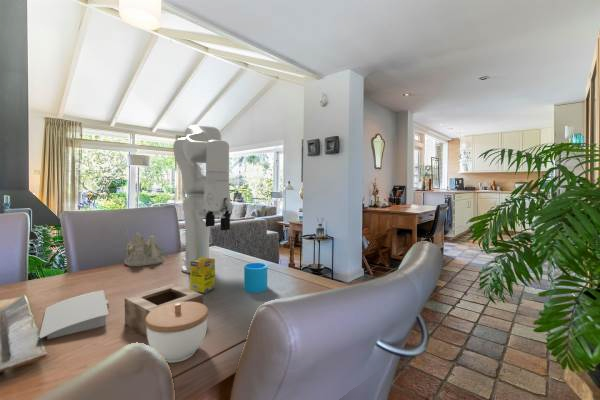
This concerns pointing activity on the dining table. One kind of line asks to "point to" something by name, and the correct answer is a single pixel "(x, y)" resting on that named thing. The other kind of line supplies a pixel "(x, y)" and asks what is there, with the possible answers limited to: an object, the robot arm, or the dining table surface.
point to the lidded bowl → (177, 329)
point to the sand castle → (143, 252)
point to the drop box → (155, 303)
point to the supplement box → (202, 275)
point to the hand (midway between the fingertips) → (217, 228)
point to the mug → (255, 277)
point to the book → (75, 315)
